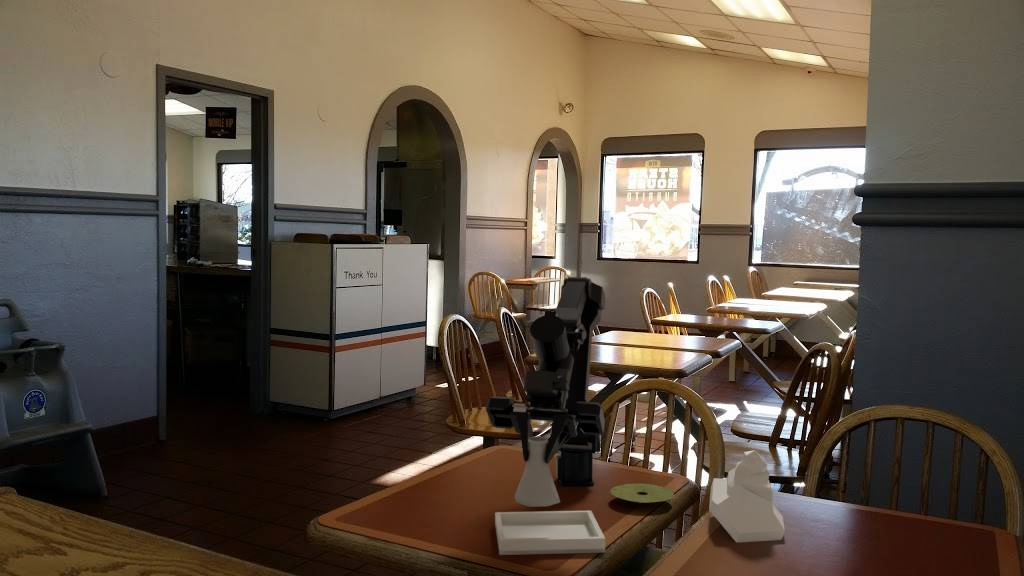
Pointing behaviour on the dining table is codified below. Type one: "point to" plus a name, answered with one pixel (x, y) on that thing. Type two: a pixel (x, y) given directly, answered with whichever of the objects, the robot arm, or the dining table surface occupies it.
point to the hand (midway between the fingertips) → (535, 461)
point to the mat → (642, 493)
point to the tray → (548, 533)
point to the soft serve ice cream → (747, 502)
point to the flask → (537, 477)
